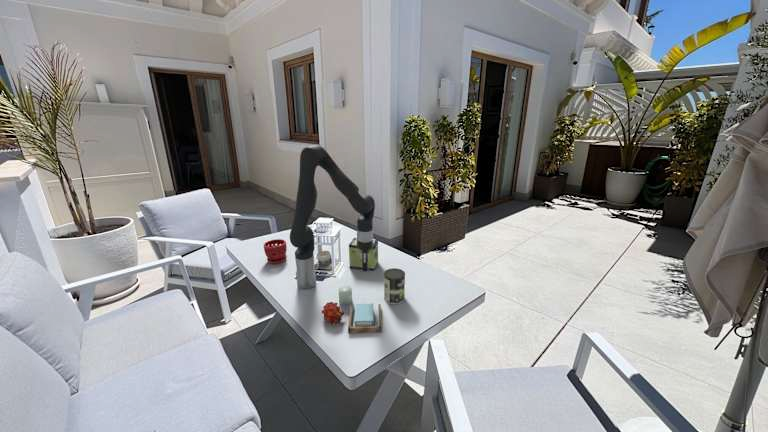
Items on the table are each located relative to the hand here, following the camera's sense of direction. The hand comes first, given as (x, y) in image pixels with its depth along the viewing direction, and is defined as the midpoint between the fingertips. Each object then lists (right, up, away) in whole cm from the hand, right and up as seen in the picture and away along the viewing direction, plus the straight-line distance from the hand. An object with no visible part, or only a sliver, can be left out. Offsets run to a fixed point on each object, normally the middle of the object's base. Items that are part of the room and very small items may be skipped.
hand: (365, 270), depth 144 cm
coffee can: (+14, -15, +5) cm, 21 cm away
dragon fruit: (-14, -20, -10) cm, 27 cm away
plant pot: (-58, -1, +43) cm, 72 cm away
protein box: (-3, -4, +36) cm, 36 cm away
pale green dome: (-10, -16, +2) cm, 18 cm away
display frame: (+1, -20, -11) cm, 23 cm away
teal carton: (0, -20, -10) cm, 23 cm away
